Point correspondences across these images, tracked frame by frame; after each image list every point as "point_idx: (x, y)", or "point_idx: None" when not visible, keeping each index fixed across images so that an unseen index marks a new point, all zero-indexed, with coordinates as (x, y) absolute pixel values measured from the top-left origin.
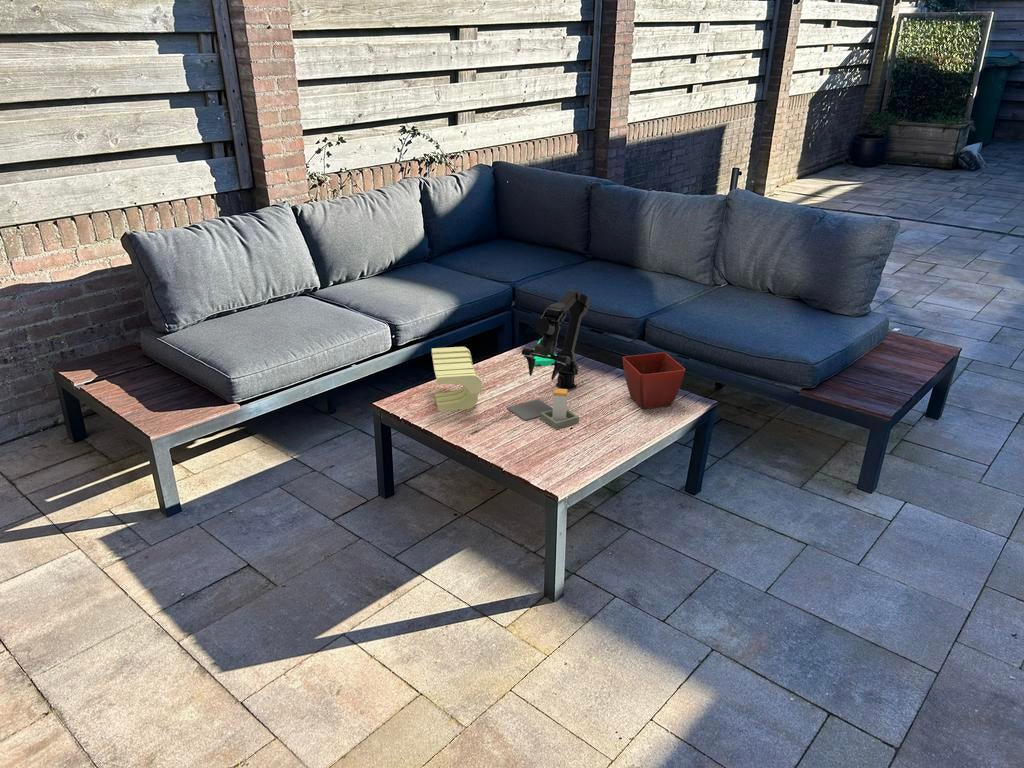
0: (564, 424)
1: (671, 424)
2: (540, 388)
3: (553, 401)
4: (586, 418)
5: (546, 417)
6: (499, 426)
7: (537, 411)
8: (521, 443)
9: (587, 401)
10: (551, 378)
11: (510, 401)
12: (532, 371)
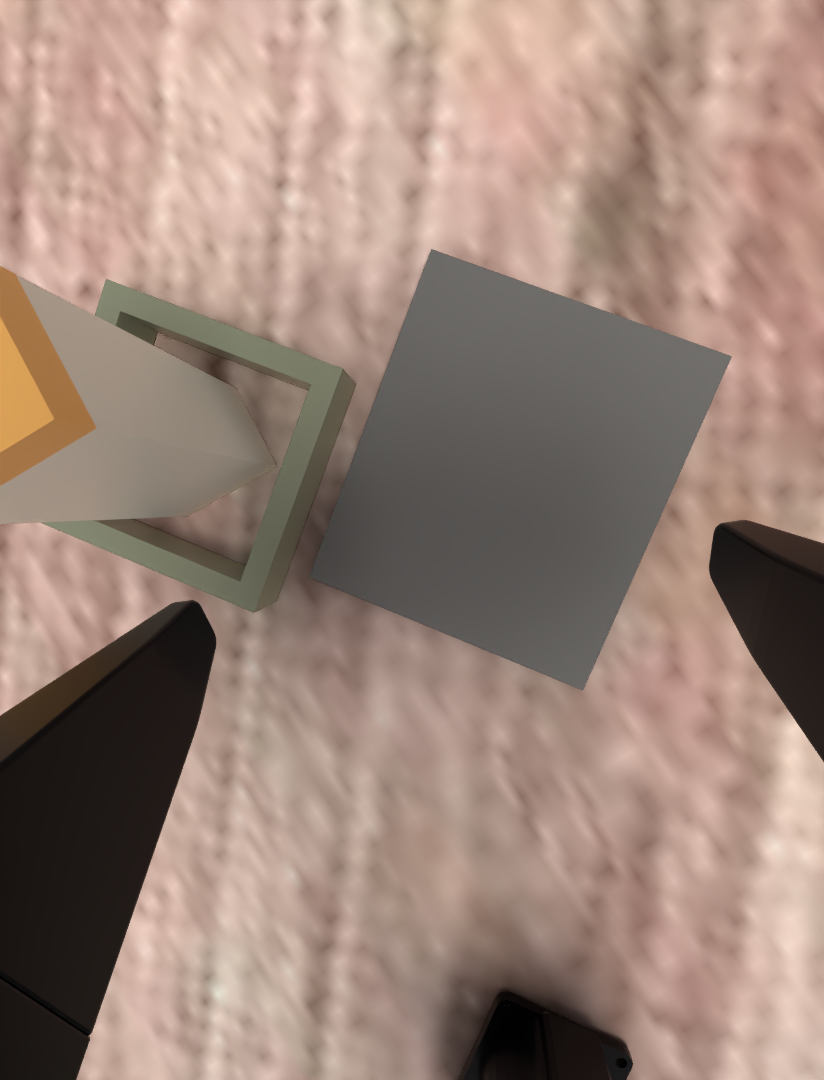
0: None
1: None
2: (706, 913)
3: (86, 317)
4: (74, 619)
5: (248, 334)
6: (558, 14)
7: (436, 463)
8: None
9: (231, 892)
10: (177, 613)
11: (786, 515)
12: (769, 657)
